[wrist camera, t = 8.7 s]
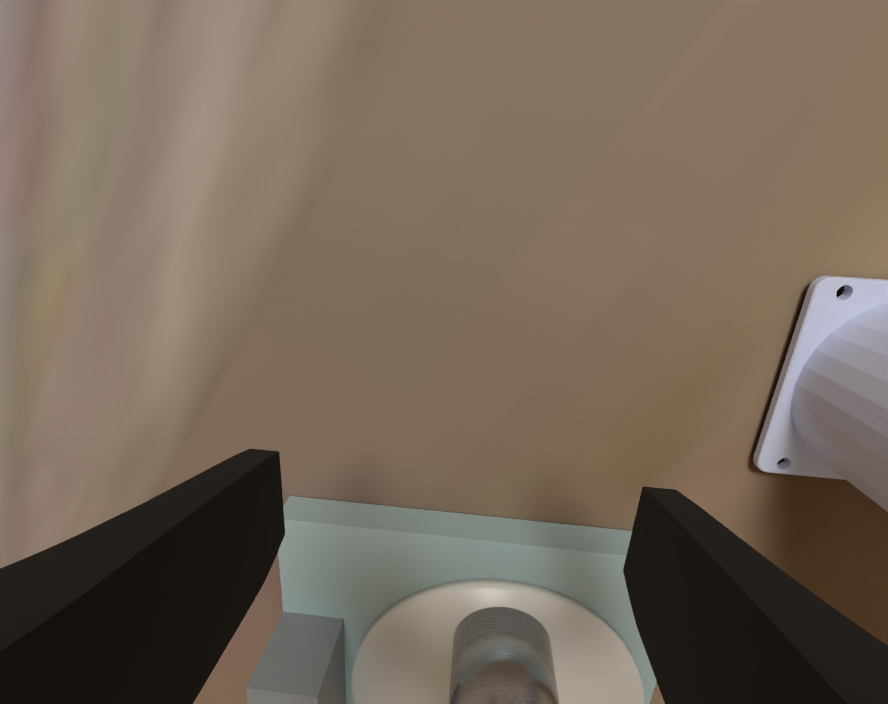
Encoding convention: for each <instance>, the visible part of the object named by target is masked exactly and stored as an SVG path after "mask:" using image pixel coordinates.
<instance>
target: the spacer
mask: <svg viewBox="0 0 888 704" xmlns="http://www.w3.org/2000/svg"><path fill="white" fill-rule="evenodd" d="M449 704H559V697H558V690H557V683H556V676H555V670H554V663H553V656H552V649H551V643H550V637H549V635H548V632H547V631H546V629H545V627H544V626H543V625H542V624H541V623H540V622H539V621H538V620H537V619H536V618H534V617H533V616H531V615H529V614H527V613H525V612H523V611H520V610H517V609H513V608H508V607H489V608H484V609H480V610H477V611H475V612H473V613H471V614H469V615H468V616H466V617H465V618H464V619H463V620H462V621H461V622H460V623H459V624H458V626H457V627H456V630H455V632H454V637H453V649H452V663H451V677H450V690H449Z"/></svg>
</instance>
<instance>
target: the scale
mask: <svg viewBox="0 0 888 704" xmlns="http://www.w3.org/2000/svg"><path fill="white" fill-rule="evenodd" d="M283 510H284V523H285V536H284V538H283V541H282V543H281V545H280V548H279V550H278V555H279V567H280V579H281V591H282V603H283V613H282V615H281V617H280V619H279V621H278V623H277V625H276V627H275V629H274V631H273V634H272V636H271V638H270V640H269V642H268V644H267V646H266V648H265V650H264V652H263V654H262V656H261V658H260V660H259V662H258V664H257V666H256V668H255V670H254V672H253V674H252V677H251V679H250V681H249V683H248V685H247V687H246V693H247V701H248V704H449V690H450V677H451V663H452V649H453V637H454V632H455V630H456V627H457V626H458V624H459V623H460V622H461V621H462V620H463V619H464V618H465V617H466V616H468V615H469V614H471V613H473V612H475V611H477V610H480V609H484V608H489V607H508V608H513V609H517V610H520V611H523V612H525V613H527V614H529V615H531V616H533V617H534V618H536V619H537V620H538V621H539V622H540V623H541V624H542V625H543V626H544V627H545V629H546V631H547V632H548V635H549V637H550V643H551V649H552V656H553V663H554V670H555V676H556V683H557V690H558V697H559V704H650V701H651V698H652V694H653V691H654V688H655V684H656V681H657V680H656V678H655V675H654V672H653V670H652V667H651V664H650V662H649V659H648V656H647V653H646V651H645V648H644V645H643V643H642V640H641V637H640V634H639V631H638V629H637V626H636V622H635V618H634V615H633V611H632V607H631V603H630V599H629V595H628V590H627V586H626V582H625V577H624V573H623V568H624V564H625V560H626V555H627V551H628V547H629V543H630V539H631V534H632V531H627V530H617V529H607V528H598V527H588V526H578V525H568V524H559V523H549V522H539V521H529V520H520V519H510V518H500V517H491V516H481V515H471V514H461V513H452V512H442V511H432V510H422V509H413V508H403V507H393V506H383V505H374V504H364V503H354V502H344V501H335V500H325V499H315V498H305V497H296V496H290V497H289V499H288V500H287V502H286V503H285V505H284V506H283Z"/></svg>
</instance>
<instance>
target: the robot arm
mask: <svg viewBox="0 0 888 704" xmlns="http://www.w3.org/2000/svg"><path fill="white" fill-rule="evenodd" d="M842 286H844V292H843V293H842V295H840V296H839V297H837V296H836V292H837V290H838V289H839V288H840V287H842ZM782 458H785V459H784V461H783V462H782V463H780V464H777V463H778V461H779V460H781V459H782ZM753 462H754V464H755V465H756V466H757V467H758V468H759V469H760V470H761V471H763V472H767V473H778V474H789V475H800V476H810V477H821V478H832V479H843V480H847V481H848V482H849V483H851V484H852V485H853V486H855V487H856V488H857V489H858V490H860V491H861V492H862V493H864V494H865V495H866V496H867V497H869V498H870V499H871V500H873V501H874V502H875V503H877V504H878V505H879V506H880V507H882V508H883V509H884V510H886V511H887V512H888V280H885V279H869V278H854V277H839V276H821V277H819V278H817V279H815V280H814V281H813V282H812V283H811V284H810V286H809V288H808V290H807V293H806V296H805V299H804V303H803V306H802V309H801V312H800V315H799V318H798V321H797V324H796V327H795V330H794V333H793V336H792V340H791V343H790V346H789V349H788V352H787V355H786V358H785V361H784V364H783V367H782V370H781V373H780V376H779V380H778V383H777V386H776V389H775V392H774V395H773V398H772V401H771V404H770V407H769V410H768V413H767V416H766V420H765V423H764V426H763V429H762V432H761V435H760V438H759V441H758V444H757V447H756V450H755V453H754V456H753ZM284 536H285V523H284V510H283V497H282V484H281V471H280V458H279V452H278V451H268V450H257V449H248V450H246V451H244V452H242V453H239V454H237V455H235V456H233V457H231V458H229V459H227V460H225V461H223V462H221V463H219V464H217V465H215V466H213V467H212V468H210V469H208V470H206V471H204V472H202V473H200V474H198V475H196V476H194V477H193V478H191V479H189V480H187V481H185V482H183V483H181V484H179V485H177V486H175V487H174V488H172V489H170V490H168V491H166V492H164V493H162V494H160V495H158V496H156V497H154V498H153V499H151V500H149V501H147V502H145V503H143V504H141V505H139V506H137V507H135V508H133V509H131V510H129V511H127V512H124V513H122V514H120V515H118V516H116V517H114V518H112V519H110V520H108V521H106V522H104V523H102V524H100V525H98V526H96V527H94V528H92V529H90V530H87V531H85V532H83V533H81V534H79V535H77V536H75V537H73V538H71V539H68V540H66V541H64V542H62V543H60V544H57V545H55V546H53V547H51V548H48V549H46V550H44V551H42V552H39V553H37V554H35V555H32V556H30V557H28V558H25V559H23V560H20V561H18V562H15V563H13V564H11V565H8V566H6V567H3V568H1V569H0V704H193V702H194V701H195V699H196V697H197V696H198V694H199V692H200V691H201V689H202V687H203V685H204V684H205V682H206V680H207V679H208V677H209V675H210V674H211V672H212V670H213V669H214V667H215V665H216V664H217V662H218V660H219V659H220V657H221V655H222V653H223V652H224V650H225V648H226V647H227V645H228V643H229V642H230V640H231V638H232V637H233V635H234V633H235V632H236V630H237V628H238V627H239V625H240V623H241V621H242V620H243V618H244V616H245V615H246V613H247V611H248V609H249V608H250V606H251V604H252V603H253V601H254V599H255V597H256V596H257V594H258V592H259V590H260V589H261V587H262V585H263V583H264V582H265V579H266V577H267V575H268V573H269V571H270V568H271V566H272V564H273V562H274V560H275V557H276V555H277V552H278V550H279V548H280V545H281V543H282V541H283V538H284ZM623 573H624V577H625V582H626V586H627V590H628V595H629V599H630V603H631V607H632V611H633V615H634V618H635V622H636V626H637V629H638V631H639V634H640V637H641V640H642V643H643V645H644V648H645V651H646V653H647V656H648V659H649V662H650V664H651V667H652V670H653V672H654V675H655V678H656V680H657V683H658V686H659V688H660V691H661V694H662V696H663V699H664V702H665V704H888V646H887V645H886V644H884V643H883V642H881V641H880V640H878V639H877V638H875V637H874V636H872V635H871V634H869V633H868V632H866V631H865V630H864V629H862V628H861V627H859V626H858V625H856V624H855V623H854V622H852V621H851V620H849V619H848V618H847V617H845V616H844V615H842V614H841V613H840V612H838V611H837V610H835V609H834V608H832V607H831V606H830V605H828V604H827V603H825V602H824V601H823V600H821V599H820V598H818V597H817V596H816V595H814V594H813V593H812V592H810V591H809V590H807V589H806V588H805V587H803V586H802V585H801V584H799V583H798V582H797V581H795V580H794V579H793V578H791V577H790V576H789V575H787V574H786V573H785V572H783V571H782V570H781V569H779V568H778V567H777V566H775V565H774V564H773V563H771V562H770V561H769V560H768V559H766V558H765V557H764V556H762V555H761V554H760V553H758V552H757V551H756V550H755V549H753V548H752V547H751V546H749V545H748V544H747V543H745V542H744V541H743V540H742V539H740V538H739V537H738V536H737V535H735V534H734V533H733V532H731V531H730V530H729V529H728V528H726V527H725V526H724V525H722V524H721V523H720V522H719V521H717V520H716V519H715V518H713V517H712V516H711V515H710V514H708V513H707V512H706V511H704V510H703V509H702V508H700V507H699V506H698V505H696V504H695V503H694V502H692V501H691V500H690V499H688V498H687V497H685V496H684V495H683V494H681V493H680V492H678V491H677V490H673V489H662V488H652V487H643V488H642V492H641V496H640V501H639V505H638V509H637V513H636V517H635V522H634V526H633V530H632V534H631V539H630V543H629V547H628V551H627V555H626V560H625V564H624V568H623Z"/></svg>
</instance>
